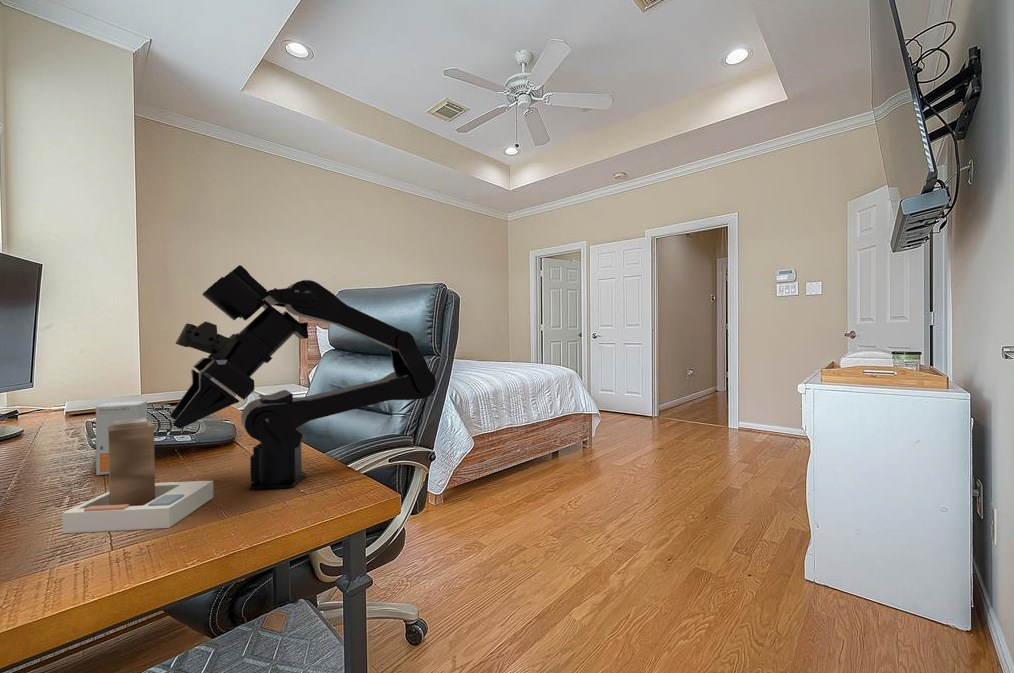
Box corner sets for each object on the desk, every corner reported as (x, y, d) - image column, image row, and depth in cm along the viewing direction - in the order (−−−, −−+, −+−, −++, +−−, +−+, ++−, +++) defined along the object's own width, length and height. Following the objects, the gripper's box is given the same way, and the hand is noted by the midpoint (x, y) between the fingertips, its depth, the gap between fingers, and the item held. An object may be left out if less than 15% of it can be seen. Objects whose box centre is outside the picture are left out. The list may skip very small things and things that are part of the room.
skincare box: (95, 476, 74) (93, 406, 74) (106, 469, 78) (105, 402, 78) (140, 471, 76) (138, 403, 76) (148, 465, 80) (147, 400, 80)
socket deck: (213, 497, 64) (213, 478, 64) (169, 527, 55) (168, 505, 54) (124, 501, 63) (124, 482, 63) (62, 533, 53) (62, 510, 53)
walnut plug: (151, 505, 62) (150, 416, 62) (155, 514, 59) (153, 421, 58) (109, 514, 59) (108, 421, 58) (111, 525, 55) (109, 426, 55)
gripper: (207, 308, 72) (121, 382, 65) (222, 299, 58) (114, 391, 51) (262, 353, 77) (188, 425, 70) (289, 354, 63) (199, 445, 56)
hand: (174, 422), depth 62 cm, fingers open, 9 cm apart
